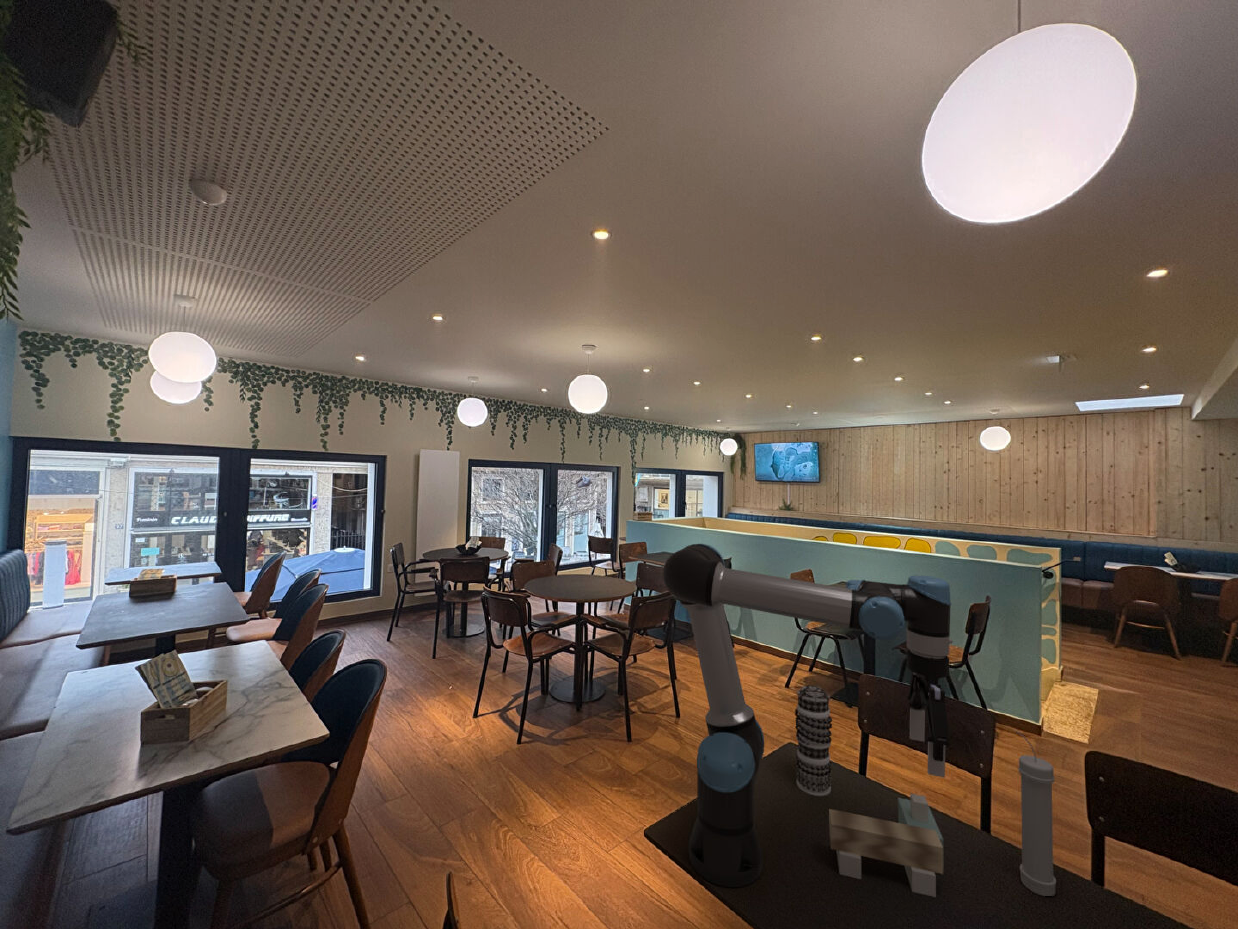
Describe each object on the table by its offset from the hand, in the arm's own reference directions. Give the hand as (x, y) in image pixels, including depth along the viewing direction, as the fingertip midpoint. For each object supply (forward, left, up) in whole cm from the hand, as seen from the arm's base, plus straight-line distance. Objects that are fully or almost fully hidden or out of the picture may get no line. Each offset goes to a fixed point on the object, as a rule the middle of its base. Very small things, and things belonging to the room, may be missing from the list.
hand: (925, 756), depth 102 cm
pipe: (+19, +3, -23) cm, 30 cm away
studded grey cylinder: (-21, +23, -23) cm, 39 cm away
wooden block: (-9, -3, -19) cm, 21 cm away
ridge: (0, +8, -23) cm, 24 cm away
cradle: (-9, -3, -23) cm, 25 cm away
